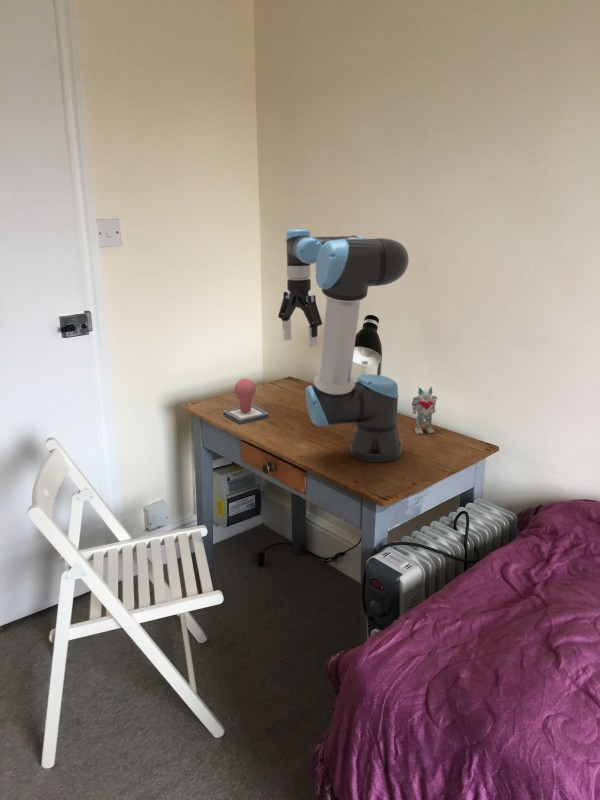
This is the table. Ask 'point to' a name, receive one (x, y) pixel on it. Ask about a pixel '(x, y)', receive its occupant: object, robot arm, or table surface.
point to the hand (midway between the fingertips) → (299, 343)
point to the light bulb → (245, 393)
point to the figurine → (424, 409)
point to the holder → (246, 415)
